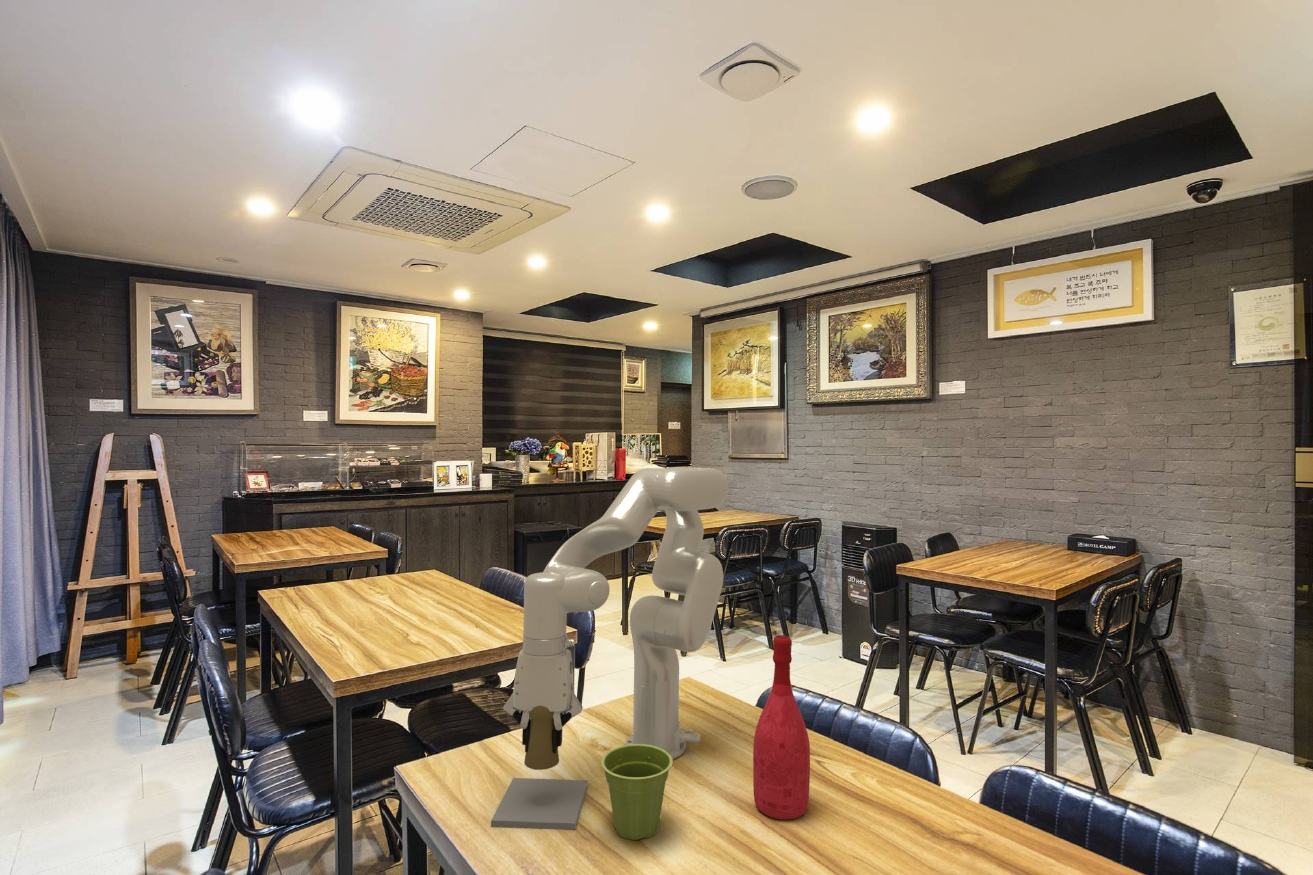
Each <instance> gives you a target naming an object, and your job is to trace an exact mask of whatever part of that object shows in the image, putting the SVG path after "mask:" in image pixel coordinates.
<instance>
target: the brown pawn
mask: <svg viewBox="0 0 1313 875" xmlns="http://www.w3.org/2000/svg"><path fill="white" fill-rule="evenodd" d="M553 715H554V712H550V711H549V709H548V708H546V707H544V706H536V707H534V708H533V709H532V711H529V716H530V718H531V722H530V738H529V745H528V752H525V753H524V754H525V755H524V766H525V767H526V768H528V769H531V770H537V771H538V770H539V771H542V770H544V771H545V770H549V769H552V768H554V767H556V766H557V765H558V764H559V762H560V758H559V756H560V755H559V747H557V750H556V753H553V752H552V751H553V747H552V730H553V729H554V718H553Z"/></svg>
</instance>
